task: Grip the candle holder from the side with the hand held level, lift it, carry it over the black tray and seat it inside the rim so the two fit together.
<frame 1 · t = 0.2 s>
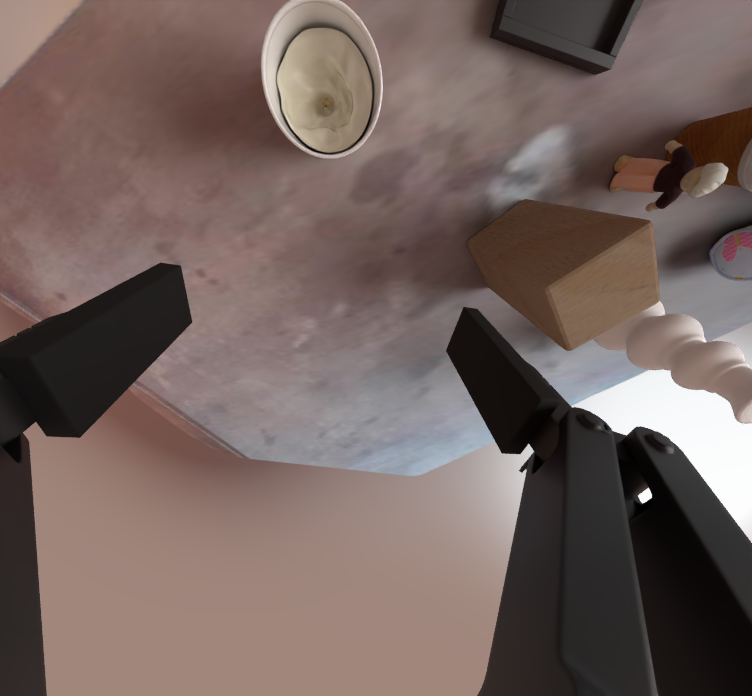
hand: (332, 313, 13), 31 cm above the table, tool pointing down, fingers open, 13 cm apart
wooden block: (504, 246, 43), on the table
vase: (604, 311, 53), on the table
disposable coffee cup: (687, 149, 38), on the table
grandmother figurine: (618, 177, 39), on the table
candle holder: (329, 111, 32), on the table
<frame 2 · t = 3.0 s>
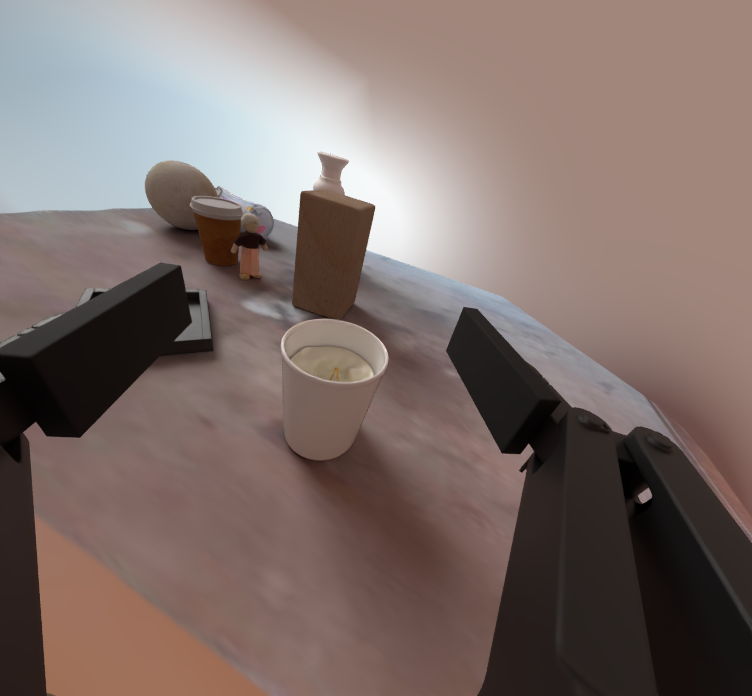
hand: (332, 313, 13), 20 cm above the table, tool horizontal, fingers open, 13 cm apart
wooden block: (324, 305, 56), on the table
vase: (320, 260, 77), on the table
disposable coffee cup: (222, 261, 61), on the table
pencil case: (240, 230, 81), on the table
grandmother figurine: (251, 276, 58), on the table
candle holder: (320, 429, 31), on the table
black tray: (150, 325, 38), on the table
decorative sphere: (188, 229, 72), on the table
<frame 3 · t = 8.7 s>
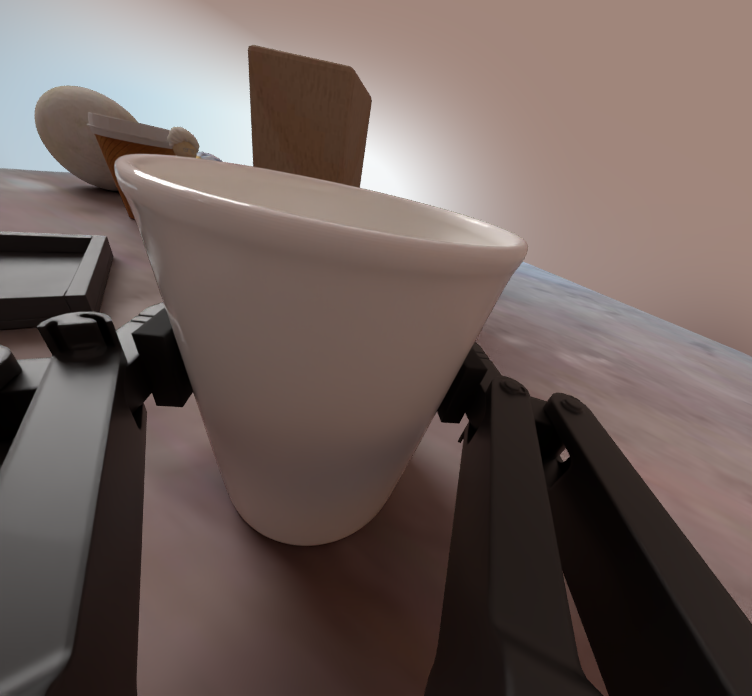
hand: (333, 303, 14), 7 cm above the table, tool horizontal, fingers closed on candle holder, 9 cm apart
wooden block: (307, 265, 39), on the table
disposable coffee cup: (155, 219, 43), on the table
grandmother figurine: (198, 235, 40), on the table
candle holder: (317, 457, 14), on the table, touching gripper
decorative sphere: (115, 191, 53), on the table
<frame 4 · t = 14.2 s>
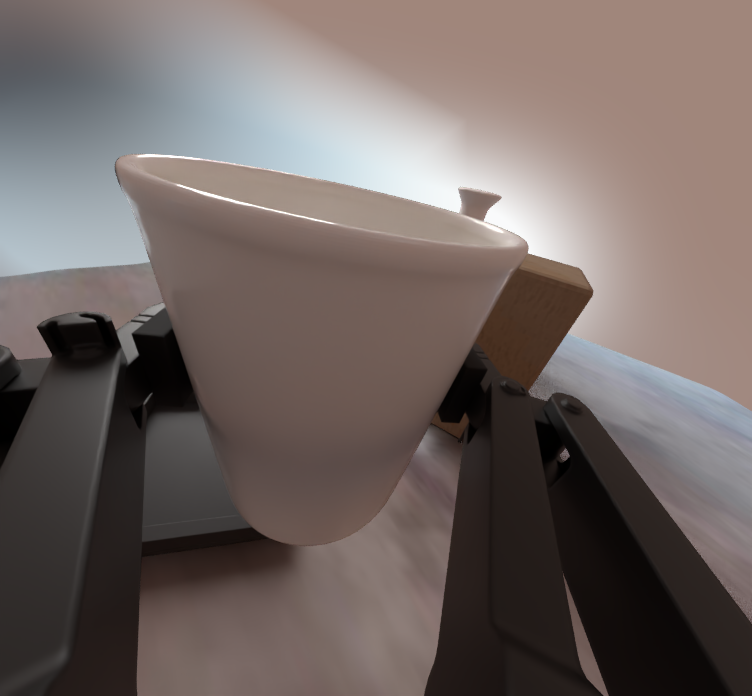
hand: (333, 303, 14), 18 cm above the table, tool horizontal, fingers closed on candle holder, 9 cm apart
wooden block: (455, 410, 36), on the table
vase: (435, 320, 59), on the table
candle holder: (317, 457, 14), point 11 cm above the table, touching gripper
black tray: (209, 457, 24), on the table
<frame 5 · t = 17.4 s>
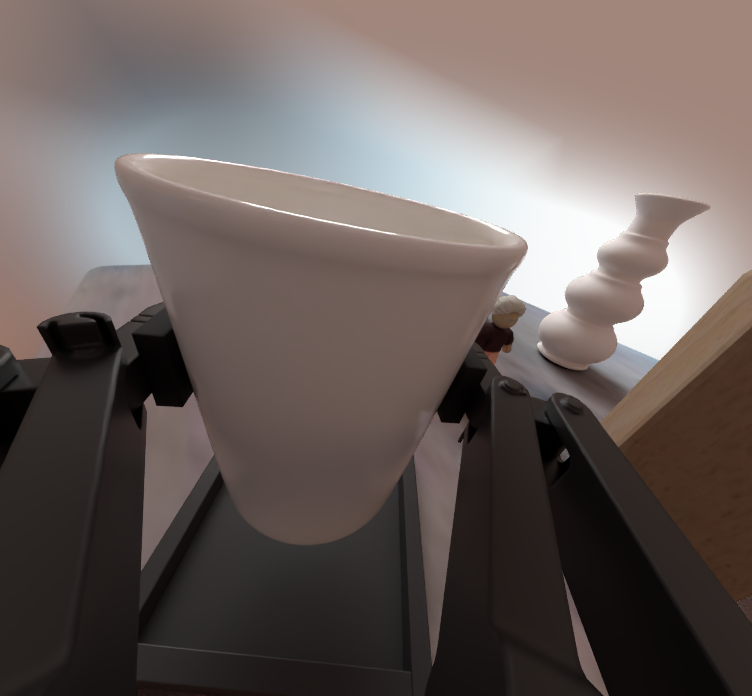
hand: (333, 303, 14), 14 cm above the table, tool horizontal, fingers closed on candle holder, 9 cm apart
wooden block: (628, 507, 24), on the table
vase: (558, 359, 47), on the table
grandmother figurine: (467, 388, 34), on the table
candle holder: (317, 457, 14), point 7 cm above the table, touching gripper
black tray: (307, 523, 18), on the table
when the fingers open (7 cm above the table, at t = 19.9 s): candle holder stays where it is, resting on black tray.
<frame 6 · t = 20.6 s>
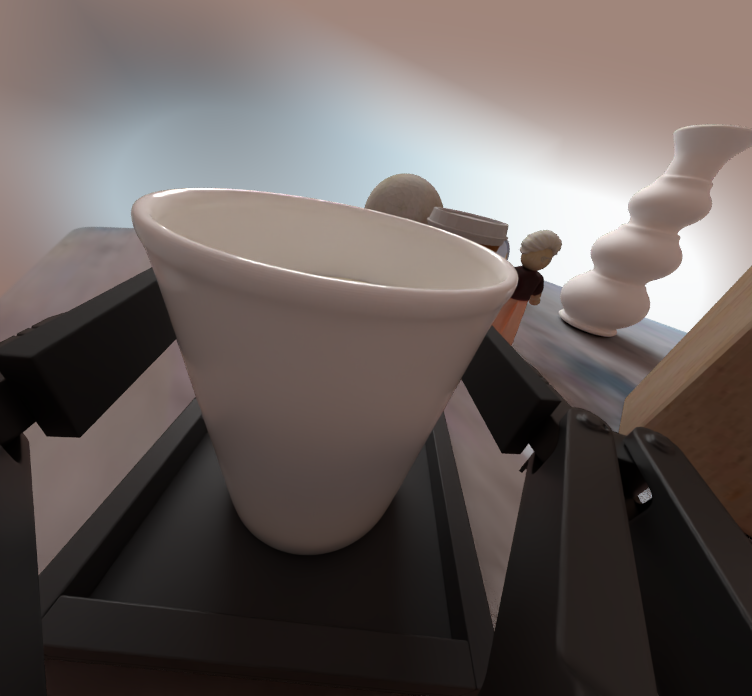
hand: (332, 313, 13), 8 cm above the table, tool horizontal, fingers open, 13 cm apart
wooden block: (690, 466, 21), on the table
vase: (582, 327, 43), on the table
disposable coffee cup: (437, 310, 37), on the table
grandmother figurine: (490, 348, 31), on the table
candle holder: (318, 466, 14), resting on black tray
black tray: (316, 470, 15), on the table
decorative sphere: (393, 261, 55), on the table
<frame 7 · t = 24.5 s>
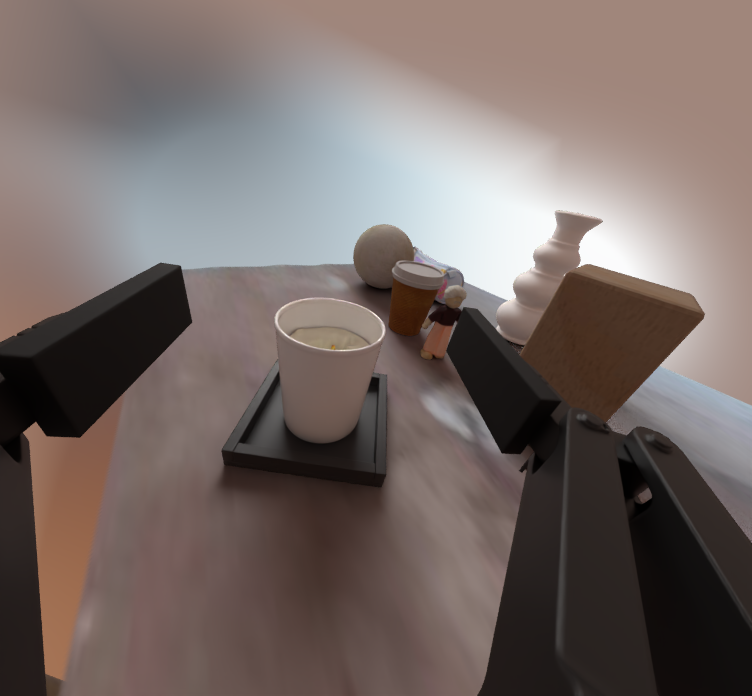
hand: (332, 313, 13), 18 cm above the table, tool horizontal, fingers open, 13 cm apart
wooden block: (531, 423, 37), on the table
vase: (513, 338, 59), on the table
disposable coffee cup: (403, 328, 54), on the table
pencil case: (423, 290, 75), on the table
grandmother figurine: (433, 355, 47), on the table
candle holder: (322, 414, 31), resting on black tray
black tray: (321, 417, 31), on the table
decorative sphere: (377, 286, 71), on the table
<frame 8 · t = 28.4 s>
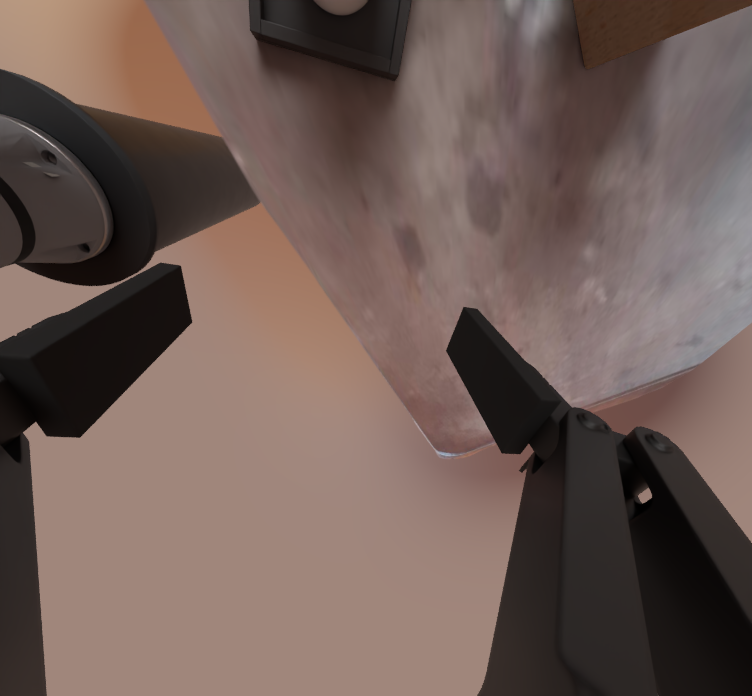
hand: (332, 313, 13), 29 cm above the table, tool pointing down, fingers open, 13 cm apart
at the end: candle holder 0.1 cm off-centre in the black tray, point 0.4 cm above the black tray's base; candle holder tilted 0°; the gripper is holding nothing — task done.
